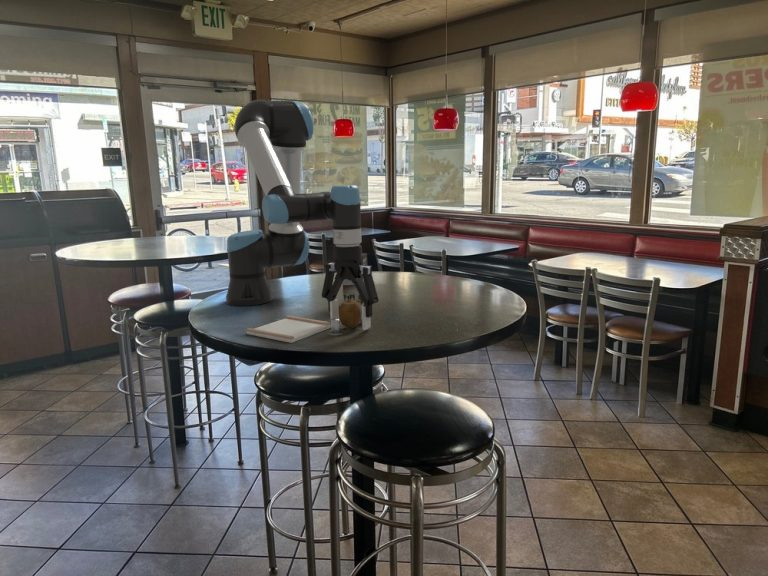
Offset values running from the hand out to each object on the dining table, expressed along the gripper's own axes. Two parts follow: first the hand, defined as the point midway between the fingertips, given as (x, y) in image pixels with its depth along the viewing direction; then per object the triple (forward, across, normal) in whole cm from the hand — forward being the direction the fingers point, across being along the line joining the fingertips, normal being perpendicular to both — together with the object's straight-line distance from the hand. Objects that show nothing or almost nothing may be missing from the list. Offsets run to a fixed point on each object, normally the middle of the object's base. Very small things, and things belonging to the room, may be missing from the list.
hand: (350, 325), depth 150 cm
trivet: (+1, -13, -10) cm, 16 cm away
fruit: (+1, 0, 0) cm, 1 cm away
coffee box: (+1, -15, +23) cm, 27 cm away
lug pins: (+1, 0, 0) cm, 1 cm away
